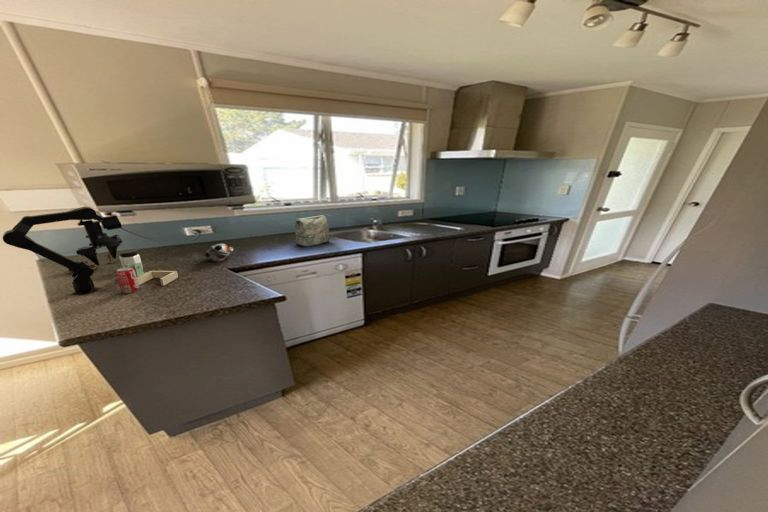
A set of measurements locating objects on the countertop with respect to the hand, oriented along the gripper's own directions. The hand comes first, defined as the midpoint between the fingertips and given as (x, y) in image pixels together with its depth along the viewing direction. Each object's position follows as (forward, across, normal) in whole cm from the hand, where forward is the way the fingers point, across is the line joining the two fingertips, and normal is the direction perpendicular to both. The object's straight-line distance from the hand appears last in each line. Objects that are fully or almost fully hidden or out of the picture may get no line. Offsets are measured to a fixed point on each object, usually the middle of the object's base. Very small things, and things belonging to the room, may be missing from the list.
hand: (106, 261), depth 146 cm
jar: (+14, +20, +8) cm, 25 cm away
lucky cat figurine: (+16, +43, -32) cm, 56 cm away
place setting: (+13, +20, +33) cm, 41 cm away
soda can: (+13, -7, -15) cm, 21 cm away
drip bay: (+14, +5, -19) cm, 24 cm away
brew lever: (+10, +5, -5) cm, 12 cm away
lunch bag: (+20, +88, -82) cm, 122 cm away
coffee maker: (+14, +8, -5) cm, 17 cm away
